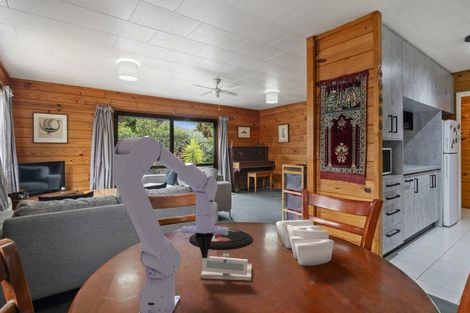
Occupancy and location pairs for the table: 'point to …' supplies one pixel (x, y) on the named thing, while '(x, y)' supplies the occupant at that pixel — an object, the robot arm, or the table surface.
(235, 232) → the wall clock
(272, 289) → the table surface
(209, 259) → the frame
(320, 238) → the white wavy slab sculpture
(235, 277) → the easel stand
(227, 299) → the table surface
